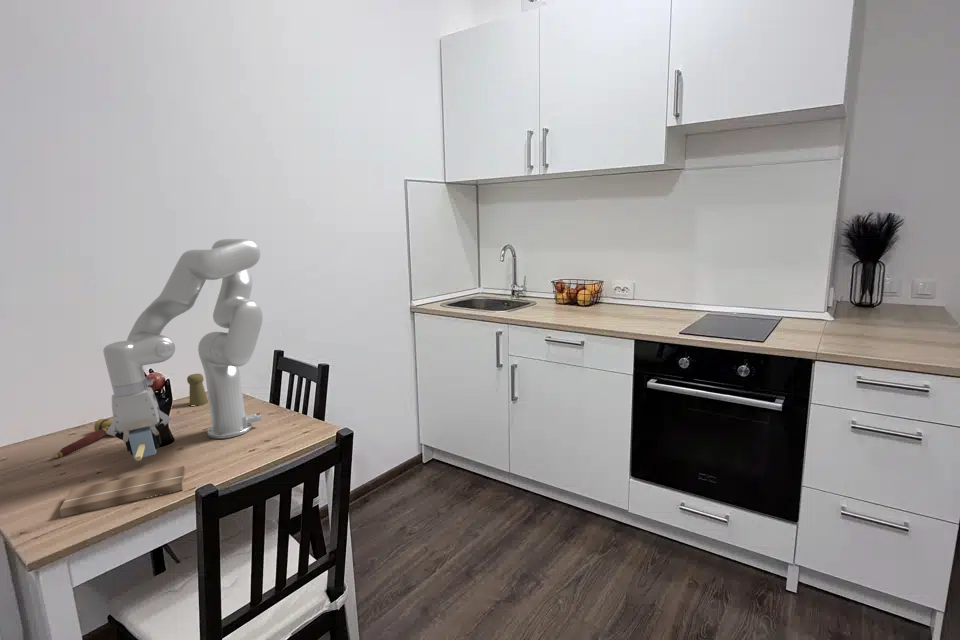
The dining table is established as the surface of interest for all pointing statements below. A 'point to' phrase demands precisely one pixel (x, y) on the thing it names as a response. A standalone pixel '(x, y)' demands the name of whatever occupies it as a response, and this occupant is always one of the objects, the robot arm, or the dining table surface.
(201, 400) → the cork
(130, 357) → the robot arm
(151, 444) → the blue block with stick
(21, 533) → the dining table surface
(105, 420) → the gavel
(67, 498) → the board
